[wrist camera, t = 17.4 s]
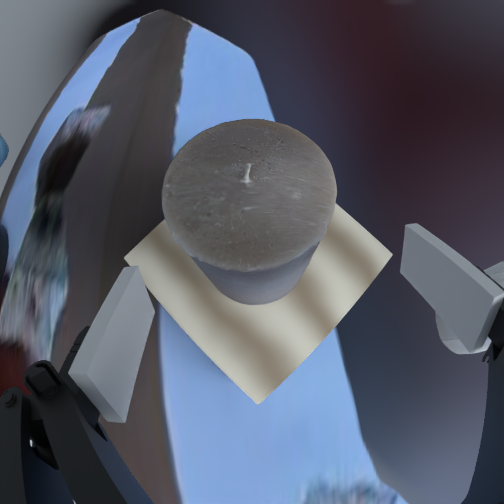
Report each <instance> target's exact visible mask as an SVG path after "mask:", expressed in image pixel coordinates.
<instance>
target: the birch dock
mask: <svg viewBox="0 0 504 504" xmlns="http://www.w3.org/2000/svg"><path fill="white" fill-rule="evenodd" d="M391 256H392V253H391V252H389V250H388V249H386V248H385V247H384V246H383V245H382V244H381V243H380V242H379V241H378V240H377V239H376V238H375V237H373V236H372V235H371V234H370V233H369V232H368V231H367V230H366V229H365V228H363V227H362V226H361V225H360V224H359V223H358V222H357V221H356V220H354V219H353V218H352V217H351V216H350V215H348V214H347V213H346V212H345V211H344V210H343V209H342V208H340V207H339V206H338V205H337V204H336V203H335V209H334V213H333V215H332V218H331V220H330V224H329V226H328V227H327V232H326V234H325V236H324V237H323V239H322V240H321V241H320V243H319V245H318V247H317V249H316V251H315V253H314V254H313V256H312V258H311V261H310V263H309V265H308V266H307V268H306V270H305V272H304V274H303V276H302V277H301V279H300V280H299V282H298V283H297V284H296V286H295V287H294V289H293V290H292V291H290V292H289V293H288V294H287V295H286V296H284V297H283V298H281V299H279V300H277V301H274V302H271V303H268V304H262V305H246V304H241V303H239V302H236V301H233V300H232V299H230V298H228V297H227V296H225V295H224V294H222V293H221V292H220V291H219V290H218V289H217V288H216V287H215V285H214V284H213V283H212V282H211V281H210V280H209V278H208V277H207V276H206V275H205V274H204V272H203V271H202V270H201V269H200V268H199V266H198V265H197V264H196V263H195V262H194V260H193V259H192V258H191V257H190V256H189V255H188V254H187V253H186V252H184V251H183V249H182V248H181V245H180V244H177V243H176V242H174V241H173V238H172V235H171V231H170V229H169V227H168V225H167V223H166V220H165V219H164V220H163V221H162V222H161V223H160V224H159V225H158V226H157V227H156V228H154V229H153V230H152V231H151V232H150V233H149V234H148V235H147V236H146V237H145V238H144V239H143V240H142V241H141V242H140V243H139V244H138V245H137V246H136V247H135V248H133V249H132V250H131V251H130V252H129V253H128V254H127V255H126V256H125V257H124V259H125V260H126V261H127V263H128V264H129V265H130V267H131V266H137V265H138V267H139V270H140V273H141V275H142V278H143V281H144V284H145V285H146V287H147V288H148V289H149V290H150V292H151V293H152V294H153V295H154V296H155V298H156V299H157V300H158V301H159V302H160V304H161V305H162V306H163V307H164V308H165V309H166V311H167V312H168V313H169V314H170V315H171V316H172V317H173V319H174V320H175V321H176V322H177V323H178V324H179V325H180V327H181V328H182V329H183V330H184V331H185V332H186V333H187V334H188V335H189V336H190V338H191V339H192V340H193V341H194V342H195V343H196V344H197V345H198V346H199V347H200V348H201V349H202V350H203V351H204V352H205V354H206V355H207V356H208V357H209V358H210V359H211V360H212V361H213V362H214V363H215V364H216V365H217V366H218V367H219V368H220V369H221V370H222V371H223V372H224V373H225V374H226V375H227V376H228V377H229V378H230V379H231V380H232V381H233V382H234V383H235V384H236V385H237V386H239V387H240V388H241V389H242V390H243V391H244V392H245V393H246V394H247V395H248V396H249V397H250V398H251V399H252V400H253V401H255V402H256V403H257V404H258V405H259V404H260V403H261V402H262V401H263V400H264V399H265V398H266V397H267V396H268V395H270V394H271V393H272V392H273V391H274V390H275V389H276V388H277V387H278V386H279V385H280V384H281V383H282V382H283V381H284V380H285V379H286V378H287V377H288V376H289V375H290V374H291V373H292V372H293V371H294V370H295V369H296V368H297V367H298V366H299V365H300V364H301V363H302V362H303V361H304V360H305V359H306V358H307V357H308V356H309V355H310V354H311V353H312V351H313V350H314V349H315V348H316V347H317V346H318V345H319V344H320V343H321V342H322V341H323V340H324V338H325V337H326V336H327V335H328V334H329V333H330V332H331V331H332V330H333V328H334V327H335V326H336V325H337V324H338V323H339V321H340V320H341V319H342V318H343V317H344V316H345V315H346V313H347V312H348V311H349V310H350V309H351V307H352V306H353V305H354V304H355V302H356V301H357V300H358V299H359V297H360V296H361V295H362V294H363V293H364V292H365V290H366V289H367V288H368V287H369V285H370V284H371V283H372V282H373V280H374V279H375V278H376V276H377V275H378V273H379V272H380V271H381V270H382V269H383V267H384V266H385V265H386V263H387V262H388V260H389V259H390V258H391Z"/></svg>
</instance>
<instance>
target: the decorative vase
mask: <svg viewBox="0 0 504 504" xmlns="http://www.w3.org/2000/svg"><path fill="white" fill-rule="evenodd" d="M484 272H485V274H488V275H489V276H490V277H491V279H494V280H495V281H496V282H497V283H498V284H499V285H500V286H502V287H503V288H504V261H503V262H500V263H498V264H496V265H494V266H492V267H490V268H488V269H486V270H484ZM435 316H436V318H435V320H436V326H437V330H438V333H439V337H440V339H441V340H442V342H443V344H444V345H445V346H446V347H448V348H449V349H450V350H451V351H453V352H454V353H457V354H470V353H469V351H468V350H467V349H466V348H465V346H464V345H463V344H462V343H461V341H460V340H459V339H458V338H457V336H456V335H455V334H454V333H453V331H452V330H451V329H450V328H449V327H448V325H447V324H446V323H445V322H444V321H443V319H442V318H441V317H440V316H439V315H438V314H437V312H436V311H435ZM490 343H491V340H490V338H489V337H487V339H486V341H485V343H484V345H483V347H482V348H481V349H479V350H477V351H475V352H473V353H478V352H482V351H485V350H487V349H488V347H489V345H490Z"/></svg>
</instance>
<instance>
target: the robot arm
mask: <svg viewBox="0 0 504 504" xmlns="http://www.w3.org/2000/svg"><path fill="white" fill-rule="evenodd" d="M8 152H9V148H8V145H7V144H6V142H5V140H4V139H3V137H2V136H1V134H0V167H1V165H2V164H3V162H4V161H5V160H6V158H7V156H8ZM7 255H8V236H7V232H6V230H5V228H4V226H3V225H1V224H0V281H1V278H2V276H3V273H4V270H5V266H6V261H7ZM400 273H401V274H402V275H403V276H404V277H405V278H406V279H407V280H408V281H409V282H410V283H411V284H412V285H413V287H414V288H415V289H416V290H417V291H418V292H419V293H420V294H421V295H422V296H423V298H424V299H425V300H426V301H427V302H428V303H429V304H430V305H431V307H432V308H433V309H434V310H435V311H436V312H437V314H438V315H439V316H440V317H441V318H442V319H443V321H444V322H445V323H446V324H447V325H448V327H449V328H450V329H451V330H452V331H453V333H454V334H455V335H456V336H457V338H458V339H459V340H460V341H461V343H462V344H463V345H464V346H465V348H466V349H467V350H468V351H469V353H470V354H471V353H473V352H475V351H477V350H479V349H481V348H482V347H483V345H484V343H485V341H486V339H487V337H489V338H490V340H491V343H490V345H489V347H488V349H487V351H486V353H485V355H484V357H483V360H482V362H484V361H485V359H486V357H487V356H489V359H488V361H487V363H489V372H488V390H487V402H486V412H485V419H484V426H483V433H482V439H481V444H480V449H479V454H478V458H477V463H476V467H475V471H474V475H473V478H472V482H471V485H470V489H469V492H468V494H467V496H466V498H465V499H464V501H463V502H462V503H461V504H504V288H503V287H502V286H500V285H499V284H498V283H497V282H496V281H495V280H494V279H491V277H490V276H489V275H488V274H485V272H484V271H483V270H482V269H480V268H479V267H478V266H475V265H473V264H471V263H470V262H469V261H468V260H466V259H465V258H464V257H463V256H461V255H460V254H459V253H457V252H456V251H455V250H453V249H452V248H451V247H449V246H448V245H447V244H445V243H444V242H443V241H441V240H440V239H438V238H437V237H436V236H434V235H433V234H432V233H430V232H429V231H427V230H426V229H424V228H423V227H422V226H420V225H419V224H417V223H415V224H408V225H405V234H404V245H403V252H402V260H401V268H400ZM154 314H155V311H154V308H153V306H152V303H151V300H150V298H149V295H148V292H147V290H146V287H145V284H144V281H143V278H142V275H141V273H140V270H139V267H138V265H137V266H131V267H124V268H123V270H122V272H121V273H120V275H119V277H118V278H117V280H116V282H115V283H114V285H113V287H112V289H111V290H110V292H109V294H108V296H107V297H106V299H105V301H104V303H103V304H102V306H101V308H100V310H99V312H98V314H97V315H96V317H95V319H94V321H93V323H92V325H91V326H86V327H85V328H84V329H83V330H82V331H81V332H80V333H79V334H78V336H77V338H76V340H75V342H74V346H72V348H71V350H70V353H69V354H68V356H67V358H66V360H65V362H64V364H63V366H62V368H61V370H60V372H59V374H58V372H57V371H56V370H55V368H54V367H53V365H52V364H51V363H50V362H49V361H47V360H41V361H38V362H36V363H34V364H33V365H31V366H30V367H29V368H28V369H27V371H26V372H25V374H24V377H23V383H24V384H25V386H26V387H27V388H28V389H29V390H30V392H31V393H32V394H31V395H26V396H25V394H24V393H23V392H22V391H21V390H20V389H19V388H17V387H11V388H9V389H7V390H6V391H4V393H3V394H2V396H1V397H0V504H74V502H75V504H154V503H153V502H152V500H151V499H150V498H149V497H148V495H147V494H146V493H145V491H144V490H143V489H142V487H141V486H140V485H139V483H138V482H137V480H136V479H135V478H134V476H133V475H132V473H131V472H130V470H129V469H128V468H127V466H126V465H125V463H124V462H123V460H122V458H121V457H120V455H119V454H118V452H117V451H116V449H115V447H114V446H113V444H112V442H111V441H110V439H109V437H108V435H107V434H106V432H105V430H104V428H103V427H102V425H101V424H100V423H99V422H98V418H99V415H100V413H101V415H102V416H103V417H104V418H105V419H106V420H107V421H109V422H121V423H125V422H126V418H127V413H128V409H129V405H130V400H131V396H132V392H133V388H134V384H135V380H136V376H137V373H138V369H139V365H140V362H141V358H142V354H143V351H144V347H145V344H146V340H147V337H148V333H149V330H150V327H151V323H152V320H153V317H154ZM30 440H31V441H32V447H31V444H30Z"/></svg>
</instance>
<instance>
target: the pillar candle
mask: <svg viewBox="0 0 504 504" xmlns="http://www.w3.org/2000/svg"><path fill="white" fill-rule="evenodd" d="M336 195H337V187H336V180H335V176H334V172H333V169H332V166H331V164H330V161H329V160H328V158H327V157H326V156H325V154H324V153H323V152H322V150H321V149H320V148H319V147H318V146H317V145H316V144H315V143H314V142H313V141H312V140H310V139H309V138H308V137H307V136H305V135H304V134H302V133H301V132H299V131H297V130H296V129H293V128H291V127H290V126H288V125H285V124H281V123H278V122H273V121H268V120H264V119H262V120H261V119H243V120H236V121H230V122H224V123H221V124H219V125H216V126H214V127H211V128H209V129H206V130H204V131H202V132H201V133H199V134H198V135H196V136H195V137H193V138H192V139H191V140H189V141H188V142H187V143H186V144H185V145H184V146H183V147H182V148H181V149H180V150H179V152H178V153H177V154H176V155H175V157H174V158H173V160H172V161H171V163H170V165H169V167H168V169H167V171H166V174H165V177H164V182H163V187H162V209H163V214H164V217H165V220H166V223H167V225H168V227H169V229H170V231H171V235H172V238H173V241H174V242H176V243H177V244H180V245H181V248H182V249H183V251H184V252H186V253H187V254H188V255H189V256H190V257H191V258H192V259H193V260H194V262H195V263H196V264H197V265H198V266H199V268H200V269H201V270H202V271H203V272H204V274H205V275H206V276H207V277H208V278H209V280H210V281H211V282H212V283H213V284H214V285H215V287H216V288H217V289H218V290H219V291H220V292H221V293H222V294H224V295H225V296H227V297H228V298H230V299H232V300H233V301H236V302H239V303H241V304H246V305H262V304H268V303H271V302H274V301H277V300H279V299H281V298H283V297H284V296H286V295H287V294H288V293H289V292H290V291H292V290H293V289H294V287H295V286H296V284H297V283H298V282H299V280H300V279H301V277H302V276H303V274H304V272H305V270H306V268H307V266H308V265H309V263H310V261H311V258H312V256H313V254H314V253H315V251H316V249H317V247H318V245H319V243H320V241H321V240H322V239H323V237H324V236H325V234H326V232H327V227H328V226H329V224H330V220H331V218H332V215H333V213H334V209H335V203H336Z"/></svg>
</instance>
